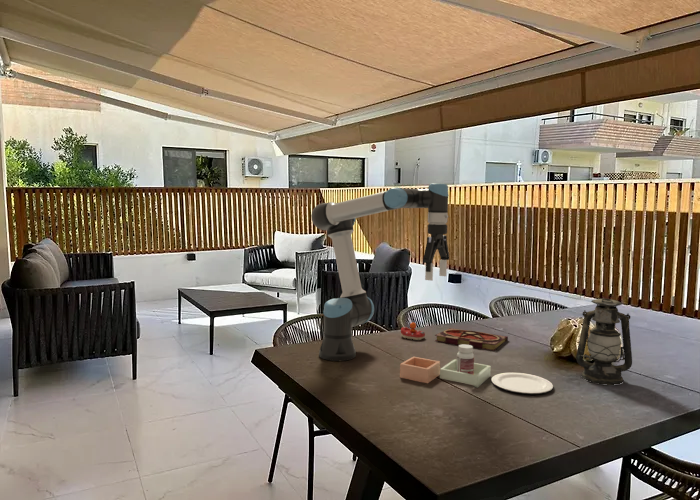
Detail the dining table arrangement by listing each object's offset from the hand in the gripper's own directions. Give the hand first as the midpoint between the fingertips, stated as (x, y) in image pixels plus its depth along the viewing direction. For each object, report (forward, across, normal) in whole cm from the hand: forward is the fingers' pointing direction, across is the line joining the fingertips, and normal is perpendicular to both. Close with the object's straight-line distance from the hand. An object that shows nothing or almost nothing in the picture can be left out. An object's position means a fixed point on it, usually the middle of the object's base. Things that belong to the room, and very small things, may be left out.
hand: (436, 278), depth 204 cm
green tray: (+35, -8, -16) cm, 39 cm away
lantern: (+35, +18, -59) cm, 71 cm away
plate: (+35, -4, -35) cm, 50 cm away
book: (+36, +43, 0) cm, 56 cm away
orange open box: (+35, -17, -2) cm, 39 cm away
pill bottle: (+34, -8, -16) cm, 39 cm away
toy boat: (+35, +32, +25) cm, 54 cm away
